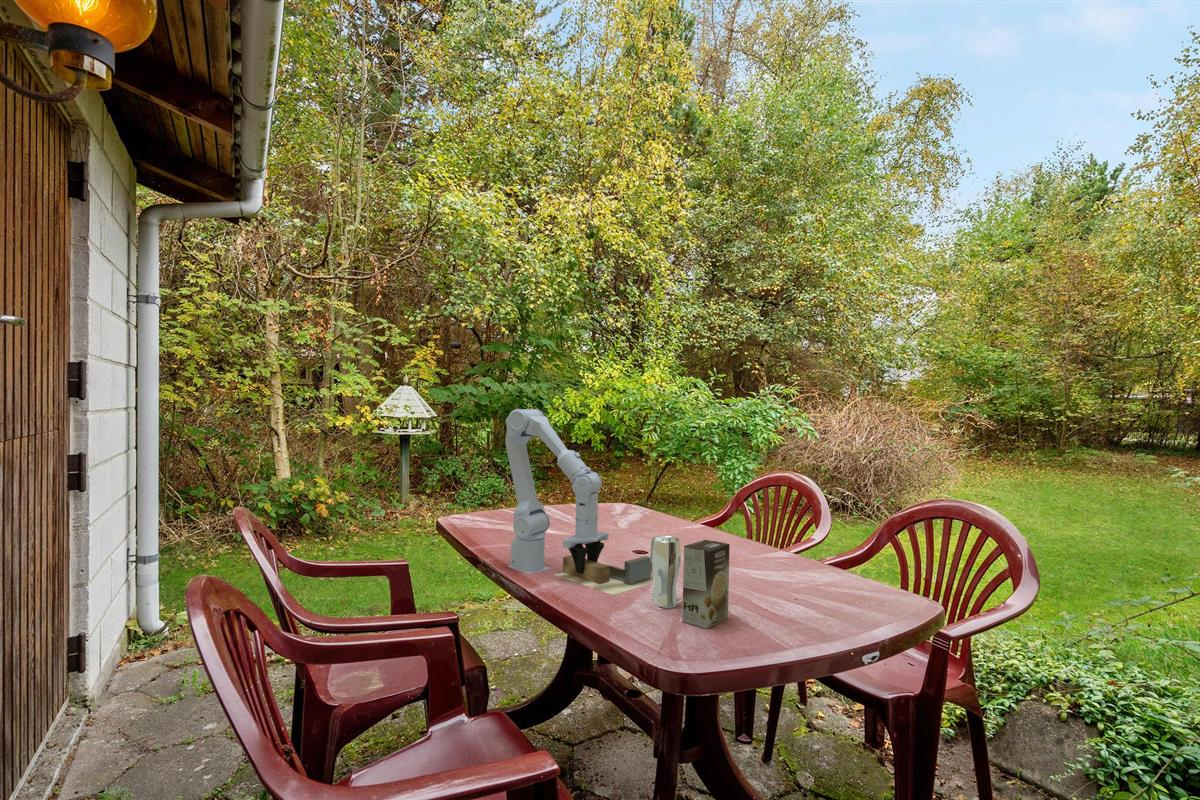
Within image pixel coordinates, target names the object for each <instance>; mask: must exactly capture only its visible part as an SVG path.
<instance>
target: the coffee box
mask: <svg viewBox="0 0 1200 800" xmlns="http://www.w3.org/2000/svg"><path fill="white" fill-rule="evenodd" d="M730 546H731V545H730V543H727V542H722V541H715V540H709V539H704V540H703V539H702V540H700V541H696V542H693V543H690V544H686V545H684V546H683V575H682V577H683V578H682V579H683V580H682V581H683V582H682V610H681V611H682V615H681V616H682V617H681V618H682V619H681V620H682V623H687V624H689V625H693V626H697V627H699V628H703V629H709V628H711V627H713V626H715V625H717V624H718V623H721V622H722V621H725V620H726V619H728V618H729V589H730V584H729V582H730V581H729V579H730Z"/></svg>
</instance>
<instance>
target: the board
mask: <svg viewBox="0 0 1200 800" xmlns="http://www.w3.org/2000/svg"><path fill="white" fill-rule="evenodd" d="M601 563H602V564H605V565H608V566H611V565H612V564H609V563H605V562H601ZM614 566H615V565H614ZM615 567H617V566H615ZM621 568H622V567H621ZM622 569H624V568H622ZM553 575H554V576H557V577H558V578H562V579H564V580H568V581H570V582H573V583H577V584H579V585H582V586H585V587H588V588H591V589H595V590H596V591H600V592H604V594H609V595H611V596H616V595H619V594H622V593H625V592H629V591H632V590H635V589H637V588H641V587H644V586H647V585H651V584H653V578H652V576H651V579H649V580H646V581H642V582H639V583H636V584H633V585H628V584H625V583H624V582H622V581H619V580H615V579H612V578H610V579H609V582H606V583H603V584H597V583H594V582H591V581H588V580H585V579H582V578H579V577H576V576H573V575H570V574H567V573H564V572H563V571H562V572H559V573H554V574H553Z"/></svg>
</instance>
